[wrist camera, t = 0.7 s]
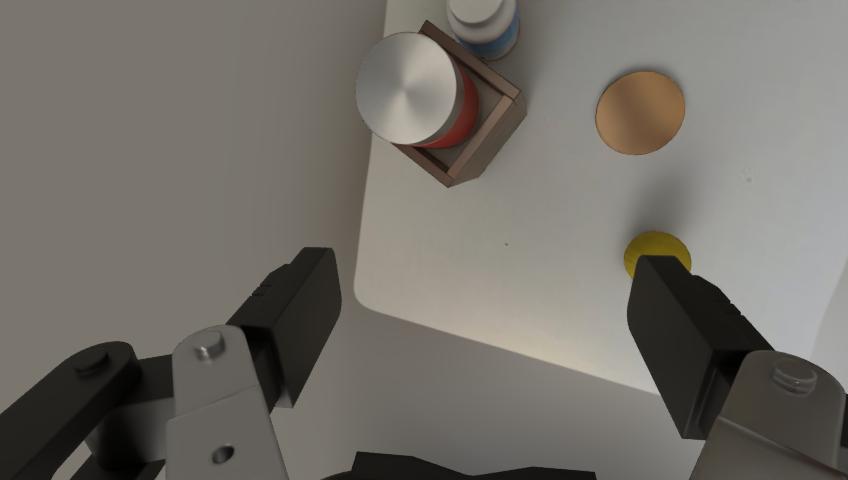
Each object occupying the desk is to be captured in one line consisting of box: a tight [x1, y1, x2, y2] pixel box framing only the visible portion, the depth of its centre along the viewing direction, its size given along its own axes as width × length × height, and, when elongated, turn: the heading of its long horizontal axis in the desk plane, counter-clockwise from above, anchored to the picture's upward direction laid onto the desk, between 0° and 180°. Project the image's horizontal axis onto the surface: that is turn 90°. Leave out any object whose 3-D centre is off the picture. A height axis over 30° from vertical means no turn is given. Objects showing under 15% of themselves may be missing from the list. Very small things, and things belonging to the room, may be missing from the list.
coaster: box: [596, 71, 685, 155], centre depth 42 cm, size 8×8×1 cm
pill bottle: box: [447, 0, 520, 61], centre depth 39 cm, size 6×6×11 cm
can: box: [355, 32, 483, 148], centre depth 28 cm, size 6×6×11 cm
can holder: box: [363, 20, 527, 188], centre depth 39 cm, size 8×8×17 cm
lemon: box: [624, 231, 691, 279], centre depth 41 cm, size 6×6×8 cm
